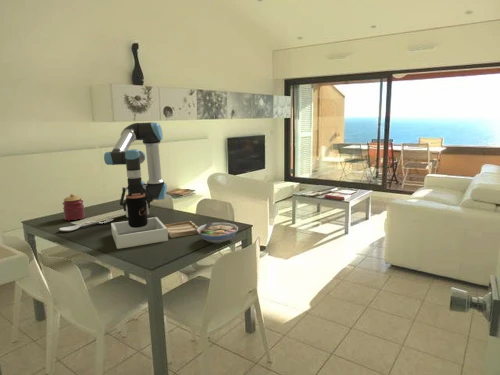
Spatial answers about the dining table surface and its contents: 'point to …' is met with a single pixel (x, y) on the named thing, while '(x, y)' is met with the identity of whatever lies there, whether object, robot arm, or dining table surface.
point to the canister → (73, 208)
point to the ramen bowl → (217, 231)
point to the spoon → (82, 224)
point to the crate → (138, 233)
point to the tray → (181, 229)
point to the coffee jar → (137, 210)
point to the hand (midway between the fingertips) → (137, 215)
